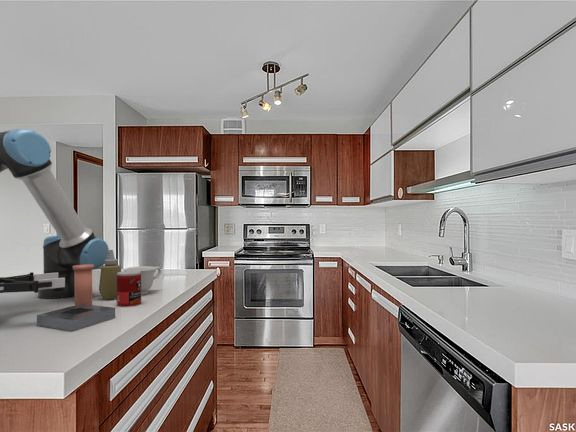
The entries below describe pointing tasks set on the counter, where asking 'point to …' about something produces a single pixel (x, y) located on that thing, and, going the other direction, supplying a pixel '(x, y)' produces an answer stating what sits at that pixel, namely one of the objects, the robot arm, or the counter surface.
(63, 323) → the flange block
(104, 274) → the squeeze bottle
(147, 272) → the teacup
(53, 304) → the counter surface
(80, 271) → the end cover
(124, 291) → the canned food
